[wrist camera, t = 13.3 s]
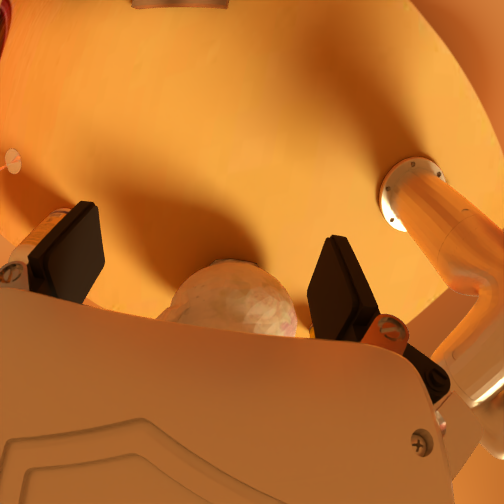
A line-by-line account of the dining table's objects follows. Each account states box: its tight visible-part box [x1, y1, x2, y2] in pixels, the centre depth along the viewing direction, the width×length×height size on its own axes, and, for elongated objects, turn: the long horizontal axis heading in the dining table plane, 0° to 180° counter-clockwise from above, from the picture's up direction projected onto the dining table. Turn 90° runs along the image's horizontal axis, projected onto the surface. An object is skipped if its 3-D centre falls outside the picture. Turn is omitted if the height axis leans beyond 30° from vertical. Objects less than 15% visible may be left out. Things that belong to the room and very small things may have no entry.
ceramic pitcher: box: [156, 259, 297, 337], centre depth 39 cm, size 22×20×25 cm
